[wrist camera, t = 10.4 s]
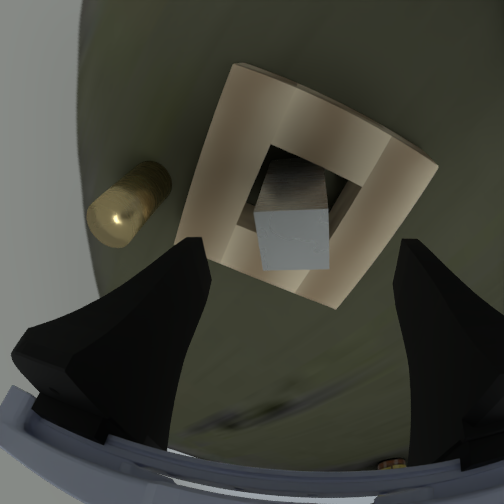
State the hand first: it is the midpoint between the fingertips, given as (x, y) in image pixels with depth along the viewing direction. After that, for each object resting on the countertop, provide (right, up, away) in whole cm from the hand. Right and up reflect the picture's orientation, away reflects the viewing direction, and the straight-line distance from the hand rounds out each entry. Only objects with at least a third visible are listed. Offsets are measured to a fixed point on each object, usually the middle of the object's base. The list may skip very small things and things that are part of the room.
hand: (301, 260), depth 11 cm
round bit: (-9, +5, +10) cm, 15 cm away
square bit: (+1, +5, +9) cm, 10 cm away
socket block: (+1, +5, +9) cm, 10 cm away
